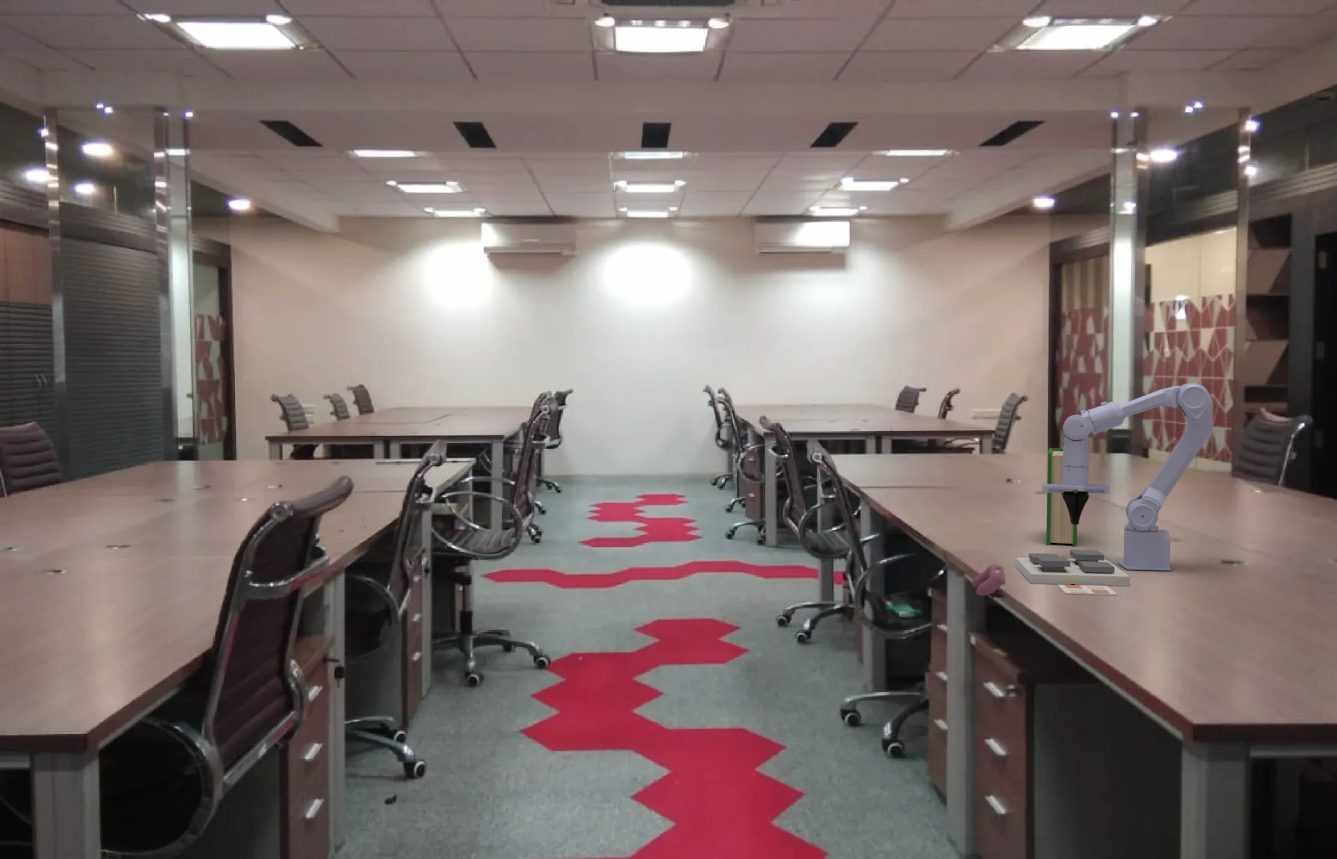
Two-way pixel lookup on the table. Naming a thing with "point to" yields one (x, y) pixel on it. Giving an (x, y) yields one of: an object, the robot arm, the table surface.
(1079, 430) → the robot arm
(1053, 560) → the button
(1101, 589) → the pattern card
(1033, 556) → the button
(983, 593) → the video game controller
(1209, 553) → the table surface
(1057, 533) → the hardback book
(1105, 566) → the button
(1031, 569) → the button board
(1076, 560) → the button
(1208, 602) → the table surface
